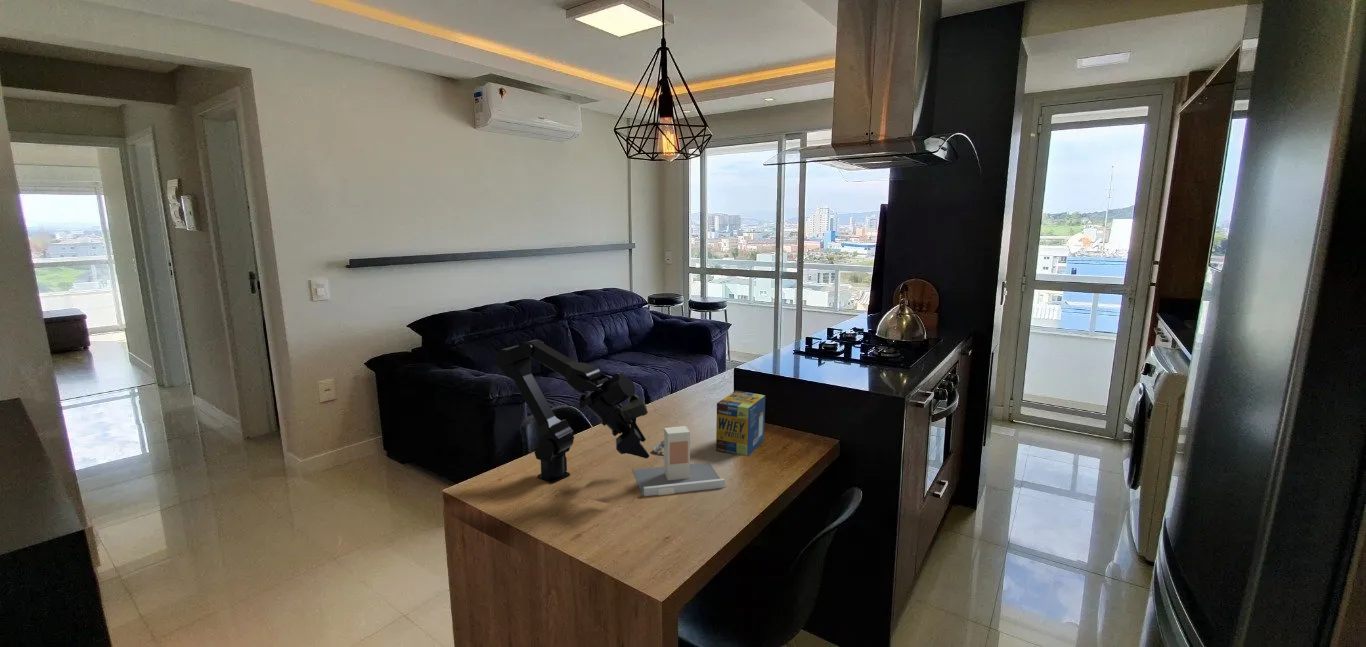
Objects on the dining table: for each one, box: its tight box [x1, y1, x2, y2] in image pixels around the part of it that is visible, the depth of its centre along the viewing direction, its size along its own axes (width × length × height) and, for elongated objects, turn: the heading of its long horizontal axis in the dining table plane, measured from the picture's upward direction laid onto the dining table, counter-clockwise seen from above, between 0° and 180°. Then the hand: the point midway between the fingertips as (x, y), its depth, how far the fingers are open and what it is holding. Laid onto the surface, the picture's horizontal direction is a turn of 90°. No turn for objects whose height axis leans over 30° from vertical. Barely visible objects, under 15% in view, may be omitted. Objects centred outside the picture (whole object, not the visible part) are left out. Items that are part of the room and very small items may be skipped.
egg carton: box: [653, 440, 664, 456], centre depth 171 cm, size 11×8×4 cm
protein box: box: [715, 390, 766, 457], centre depth 177 cm, size 10×15×16 cm
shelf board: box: [632, 461, 727, 497], centre depth 151 cm, size 22×16×4 cm
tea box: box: [663, 425, 691, 480], centre depth 152 cm, size 6×5×13 cm
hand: (646, 448), depth 151 cm, fingers open, 9 cm apart
